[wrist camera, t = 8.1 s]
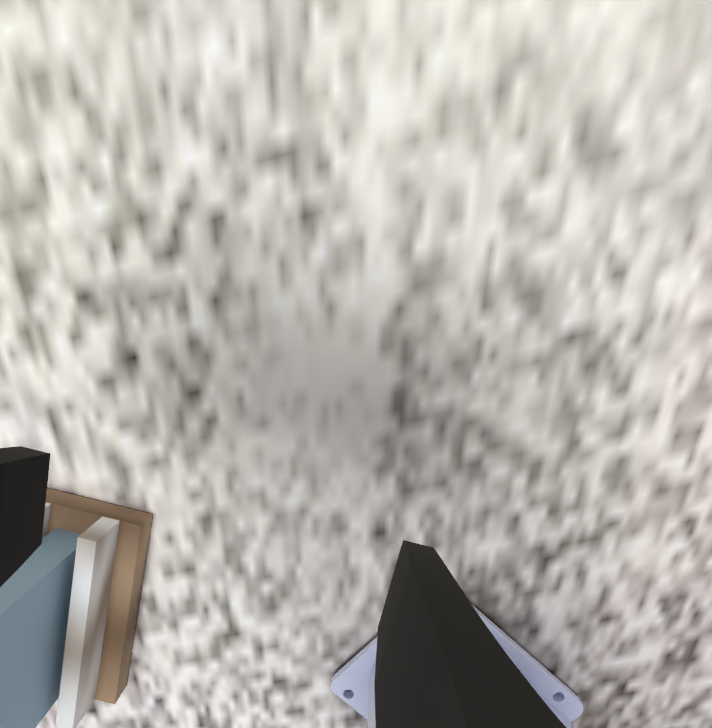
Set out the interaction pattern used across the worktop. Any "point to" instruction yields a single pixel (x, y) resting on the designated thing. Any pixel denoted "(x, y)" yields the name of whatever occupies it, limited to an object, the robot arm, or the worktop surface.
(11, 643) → the door panel
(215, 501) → the worktop surface
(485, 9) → the worktop surface
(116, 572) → the bottom track
